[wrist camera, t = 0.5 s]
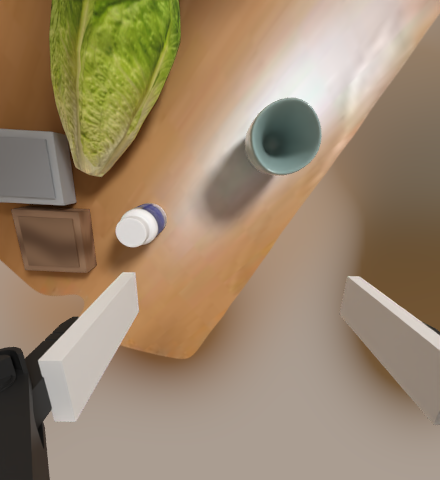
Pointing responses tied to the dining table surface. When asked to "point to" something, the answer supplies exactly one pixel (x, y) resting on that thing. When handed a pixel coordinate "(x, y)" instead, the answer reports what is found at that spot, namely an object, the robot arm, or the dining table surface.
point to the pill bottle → (141, 225)
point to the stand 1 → (35, 168)
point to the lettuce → (109, 71)
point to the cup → (283, 137)
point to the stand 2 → (55, 238)
